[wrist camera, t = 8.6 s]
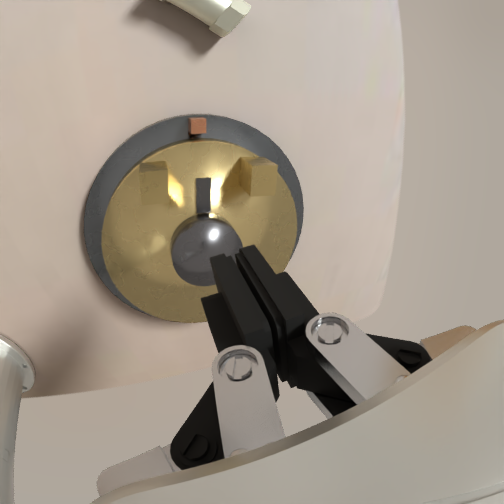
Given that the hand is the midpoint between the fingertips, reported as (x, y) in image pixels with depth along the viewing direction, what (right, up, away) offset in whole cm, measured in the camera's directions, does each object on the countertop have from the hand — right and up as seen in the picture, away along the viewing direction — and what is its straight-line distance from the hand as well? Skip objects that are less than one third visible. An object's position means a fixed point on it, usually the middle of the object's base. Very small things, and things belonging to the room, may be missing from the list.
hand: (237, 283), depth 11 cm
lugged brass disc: (-5, +3, +18) cm, 18 cm away
